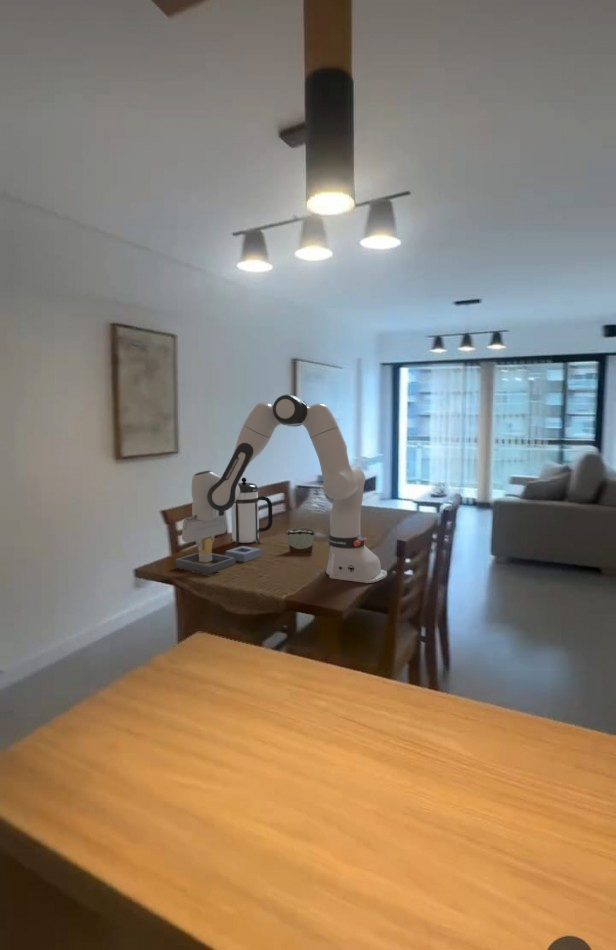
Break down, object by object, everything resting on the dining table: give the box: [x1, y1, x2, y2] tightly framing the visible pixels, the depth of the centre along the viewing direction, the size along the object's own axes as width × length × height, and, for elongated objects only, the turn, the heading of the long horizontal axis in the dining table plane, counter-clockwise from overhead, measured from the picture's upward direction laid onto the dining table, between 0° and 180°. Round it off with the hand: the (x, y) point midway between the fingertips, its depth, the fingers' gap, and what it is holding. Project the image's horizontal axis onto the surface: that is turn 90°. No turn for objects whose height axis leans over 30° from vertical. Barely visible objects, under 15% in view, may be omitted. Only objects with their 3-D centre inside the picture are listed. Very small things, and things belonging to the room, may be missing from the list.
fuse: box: [198, 537, 213, 563], centre depth 210 cm, size 4×3×9 cm
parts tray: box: [175, 551, 237, 576], centre depth 211 cm, size 18×14×4 cm
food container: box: [285, 527, 316, 554], centre depth 231 cm, size 12×6×10 cm, turn 84°
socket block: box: [225, 545, 262, 563], centre depth 221 cm, size 10×10×4 cm
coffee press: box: [230, 477, 273, 546], centre depth 247 cm, size 17×16×30 cm
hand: (205, 549), depth 210 cm, fingers closed on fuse, 3 cm apart
